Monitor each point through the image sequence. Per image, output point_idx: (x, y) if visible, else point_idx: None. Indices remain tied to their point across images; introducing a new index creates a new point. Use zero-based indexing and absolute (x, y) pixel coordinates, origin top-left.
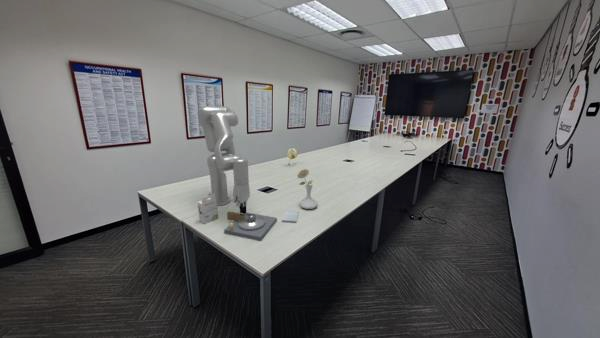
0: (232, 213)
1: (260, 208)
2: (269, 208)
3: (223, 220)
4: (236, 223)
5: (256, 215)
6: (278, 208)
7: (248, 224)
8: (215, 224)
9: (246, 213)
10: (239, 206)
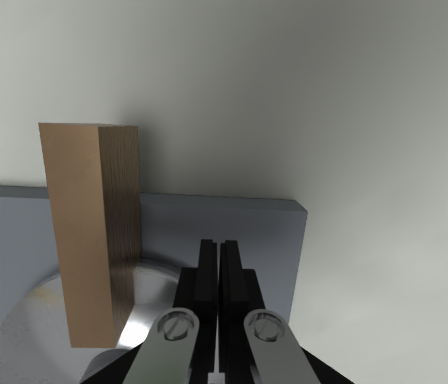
0: (62, 214)
1: (436, 268)
2: (438, 326)
3: (149, 47)
4: None
5: (222, 374)
6: (439, 376)
7: (50, 379)
8: (46, 5)
9: (285, 239)
10: (159, 324)
